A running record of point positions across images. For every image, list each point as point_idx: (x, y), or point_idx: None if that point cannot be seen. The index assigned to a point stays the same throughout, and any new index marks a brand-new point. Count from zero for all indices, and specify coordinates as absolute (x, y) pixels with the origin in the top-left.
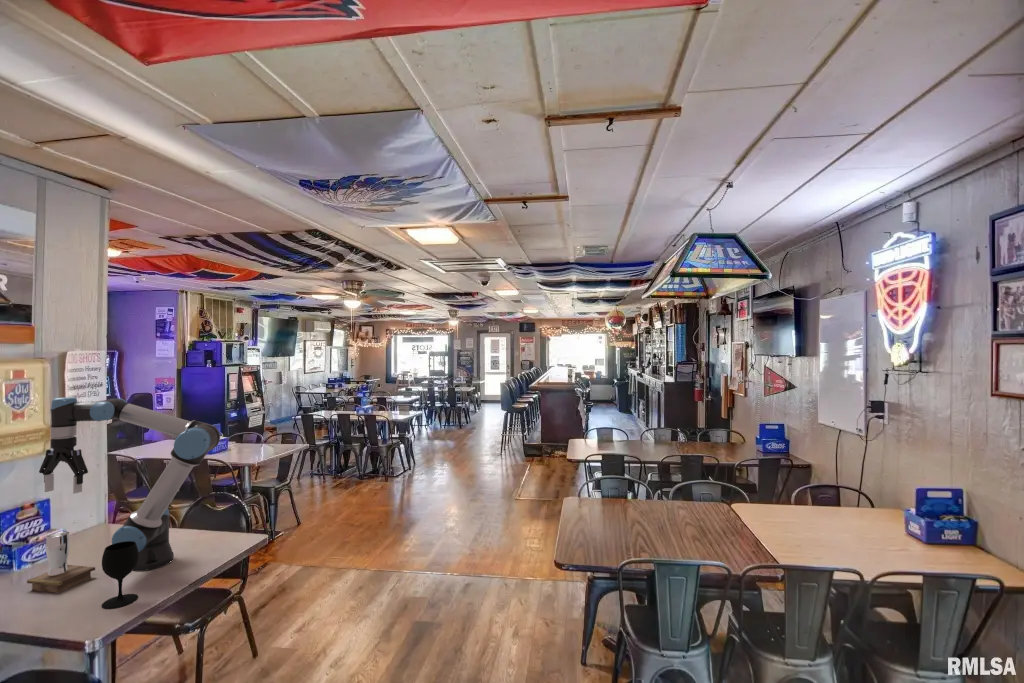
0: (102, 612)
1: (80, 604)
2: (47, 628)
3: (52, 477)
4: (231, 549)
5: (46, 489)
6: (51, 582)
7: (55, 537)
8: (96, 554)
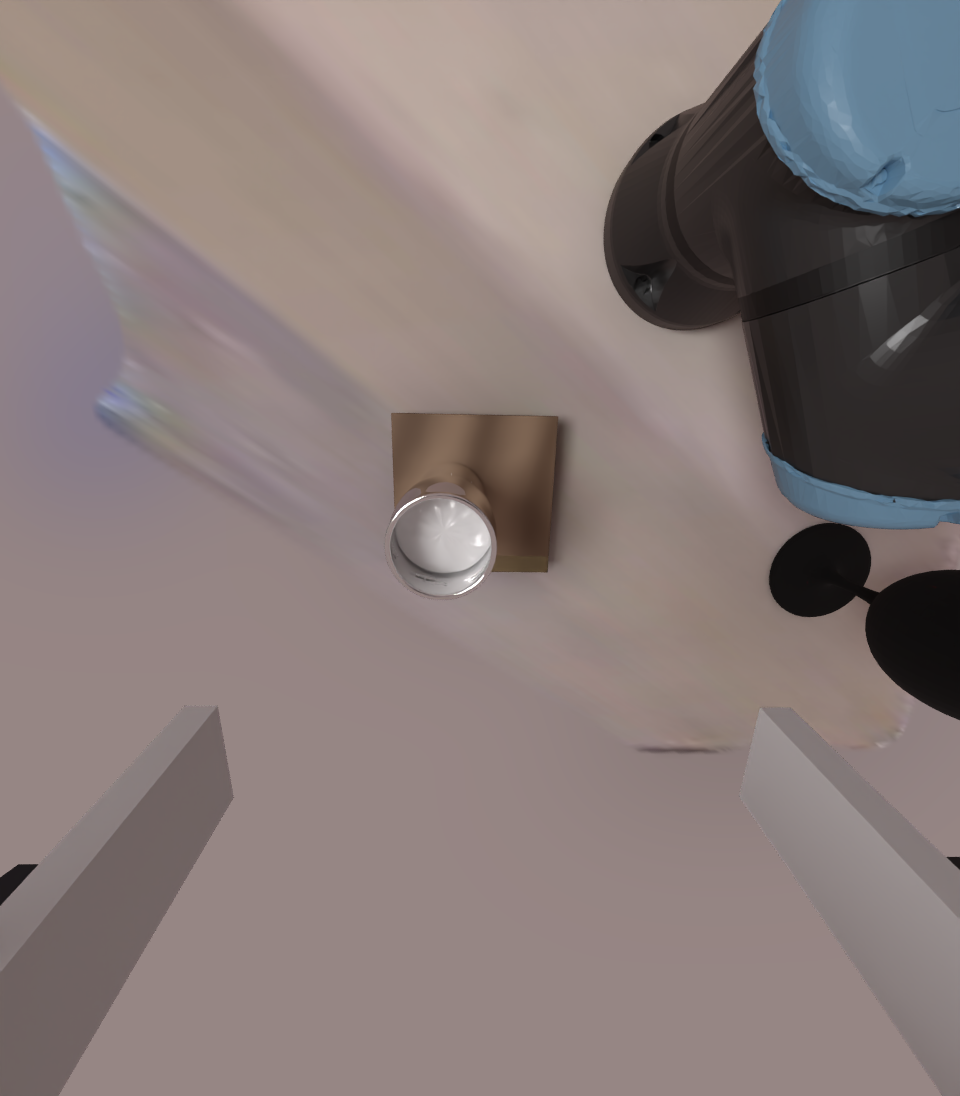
0: (811, 632)
1: (694, 603)
2: (721, 721)
3: (30, 980)
4: None
5: (211, 828)
6: (516, 570)
7: (475, 588)
8: (279, 155)
